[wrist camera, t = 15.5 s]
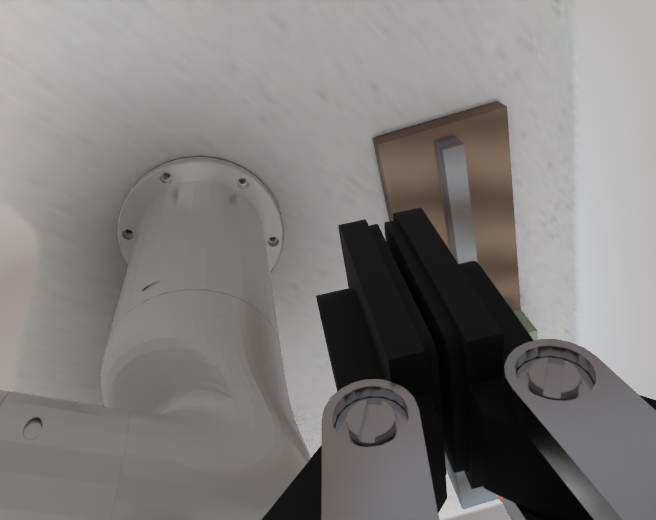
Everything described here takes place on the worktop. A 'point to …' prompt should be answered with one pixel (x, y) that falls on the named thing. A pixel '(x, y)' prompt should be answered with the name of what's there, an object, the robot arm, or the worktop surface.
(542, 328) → the worktop surface
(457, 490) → the rail stand
